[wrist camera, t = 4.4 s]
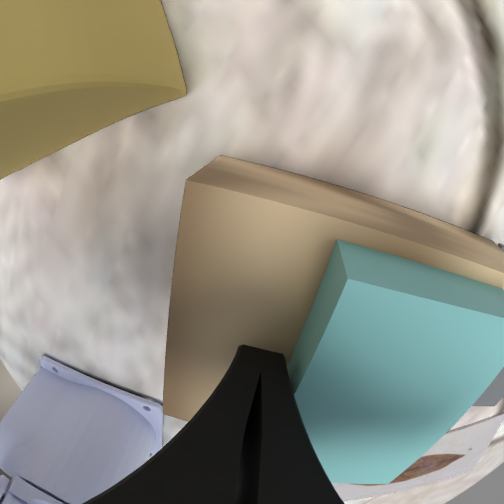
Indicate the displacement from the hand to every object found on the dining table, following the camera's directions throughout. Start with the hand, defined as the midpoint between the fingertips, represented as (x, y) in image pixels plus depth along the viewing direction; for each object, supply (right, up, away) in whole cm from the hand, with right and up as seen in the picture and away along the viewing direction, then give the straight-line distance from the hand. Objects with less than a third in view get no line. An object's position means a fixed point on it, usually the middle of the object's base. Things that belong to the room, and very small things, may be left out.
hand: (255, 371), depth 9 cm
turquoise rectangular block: (+4, -1, +1) cm, 4 cm away
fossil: (+12, -14, +11) cm, 21 cm away
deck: (+3, +1, +4) cm, 6 cm away
